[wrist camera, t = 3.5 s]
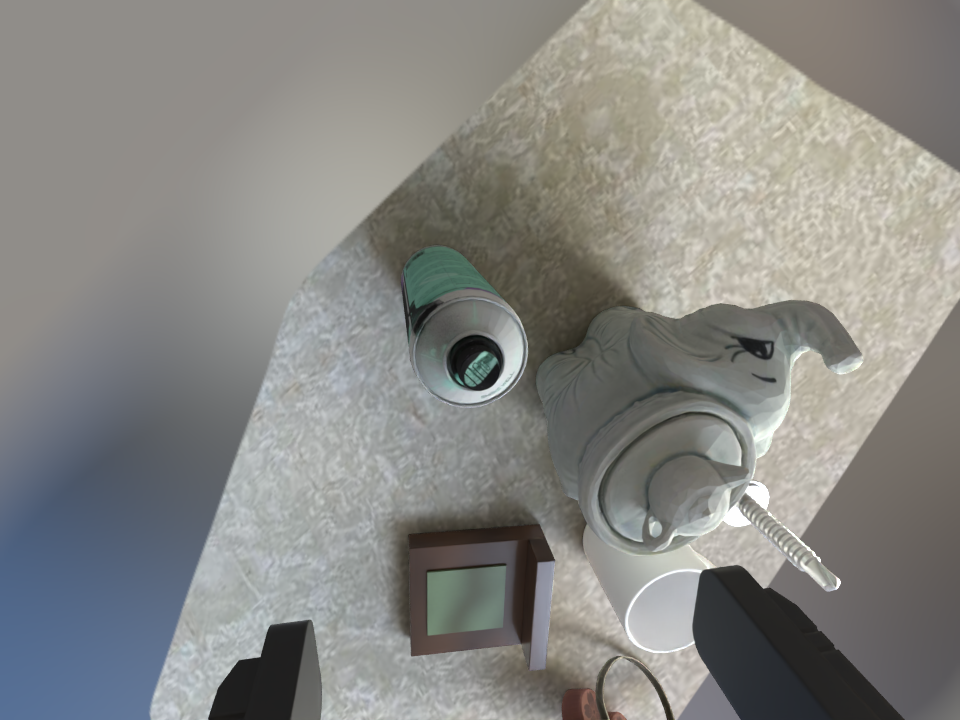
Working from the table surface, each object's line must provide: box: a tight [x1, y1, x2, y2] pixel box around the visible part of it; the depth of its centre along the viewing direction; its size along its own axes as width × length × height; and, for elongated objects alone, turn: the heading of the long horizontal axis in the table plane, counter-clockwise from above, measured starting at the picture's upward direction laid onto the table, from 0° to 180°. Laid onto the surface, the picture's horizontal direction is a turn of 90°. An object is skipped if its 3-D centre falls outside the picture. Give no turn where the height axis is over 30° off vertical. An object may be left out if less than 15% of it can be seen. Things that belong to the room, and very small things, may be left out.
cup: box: [583, 524, 717, 653], centre depth 47 cm, size 8×12×10 cm
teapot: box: [536, 300, 863, 556], centre depth 36 cm, size 16×15×19 cm
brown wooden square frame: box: [408, 524, 555, 671], centre depth 48 cm, size 12×12×5 cm
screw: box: [724, 480, 840, 592], centre depth 46 cm, size 13×5×5 cm
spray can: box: [401, 245, 528, 408], centre depth 31 cm, size 6×6×20 cm
